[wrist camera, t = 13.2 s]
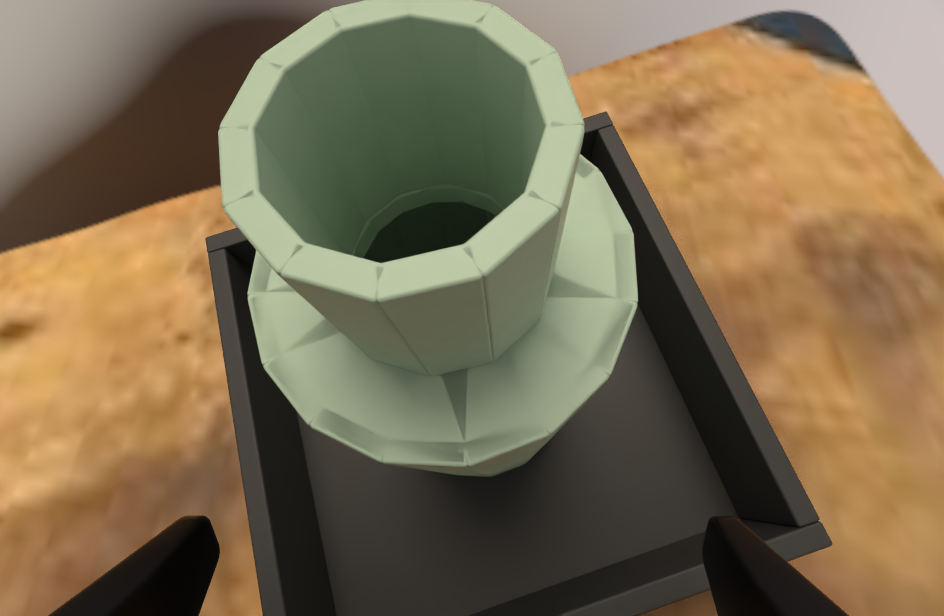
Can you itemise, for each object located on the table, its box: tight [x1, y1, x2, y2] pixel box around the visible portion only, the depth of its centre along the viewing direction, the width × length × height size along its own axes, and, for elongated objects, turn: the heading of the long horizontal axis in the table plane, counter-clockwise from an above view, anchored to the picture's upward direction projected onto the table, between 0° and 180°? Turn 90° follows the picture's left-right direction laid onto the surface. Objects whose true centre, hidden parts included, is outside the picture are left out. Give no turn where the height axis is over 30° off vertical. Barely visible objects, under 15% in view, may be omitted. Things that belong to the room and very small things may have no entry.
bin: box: [206, 112, 832, 616], centre depth 16 cm, size 14×14×4 cm
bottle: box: [218, 0, 638, 477], centre depth 11 cm, size 6×6×14 cm
